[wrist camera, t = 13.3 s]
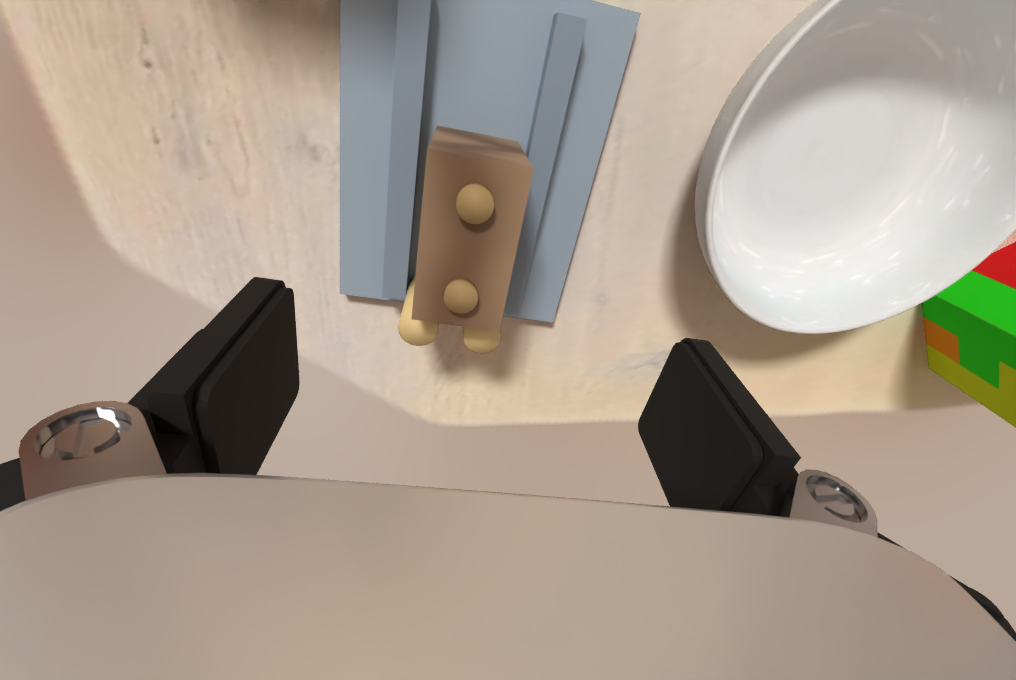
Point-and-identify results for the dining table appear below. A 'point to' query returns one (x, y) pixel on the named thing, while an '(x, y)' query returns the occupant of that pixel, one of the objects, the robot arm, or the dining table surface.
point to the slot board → (474, 108)
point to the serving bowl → (862, 162)
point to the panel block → (469, 227)
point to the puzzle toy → (978, 333)
